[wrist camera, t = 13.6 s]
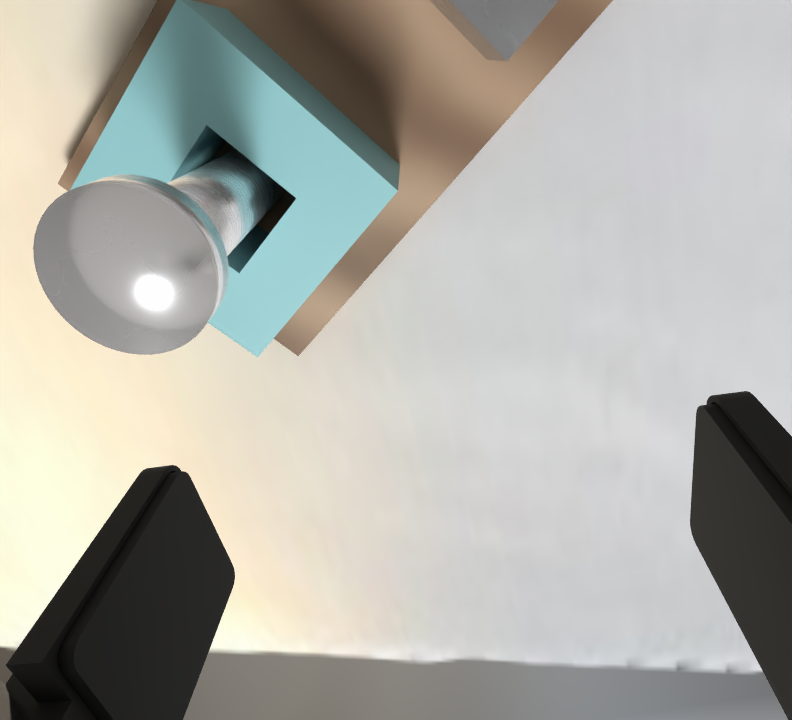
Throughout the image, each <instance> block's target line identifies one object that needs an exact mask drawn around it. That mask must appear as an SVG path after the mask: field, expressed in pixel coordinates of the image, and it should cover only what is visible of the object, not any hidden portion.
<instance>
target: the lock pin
mask: <svg viewBox="0 0 792 720" xmlns="http://www.w3.org/2000/svg"><path fill="white" fill-rule="evenodd" d="M285 191H286V189H284V188H283V187H282V186H281V185H279V184H278V183H277V182H276V181H275V180H273V179H272V178H271V177H270V176H268V175H267V174H266V173H265V172H264V171H262V170H261V169H260V168H259V167H257V166H256V165H255V164H254V163H253V162H251V161H250V160H249V159H248V158H246V157H245V156H244V155H243V154H242V153H240V152H239V151H238V150H237V149H235V150H233V151H231V152H229V153H227V154H225V155H223V156H221V157H219V158H217V159H215V160H213V161H211V162H209V163H207V164H205V165H203V166H201V167H199V168H197V169H195V170H193V171H191V172H189V173H187V174H185V175H183V176H181V177H179V178H177V179H175V180H173V181H171V182H169V183H165V182H162V181H160V180H157V179H154V178H150V177H146V176H141V175H133V174H120V175H113V176H108V177H105V178H101V179H98V180H95V181H93V182H90V183H87V184H85V185H82V186H79V187H77V188H74V189H72V190H70V191H68V192H66V193H64V194H63V195H61V196H60V197H59V198H57V199H56V200H55V201H54V202H53V203H52V204H51V205H50V206H49V207H48V208H47V210H46V211H45V212H44V214H43V215H42V217H41V219H40V221H39V224H38V226H37V230H36V233H35V238H34V247H33V248H34V262H35V267H36V271H37V275H38V278H39V281H40V283H41V285H42V288H43V290H44V292H45V294H46V295H47V297H48V299H49V300H50V302H51V303H52V305H53V306H54V307H55V309H56V310H57V311H58V312H59V314H60V315H61V316H62V317H63V318H64V319H65V320H66V321H67V322H68V323H69V324H70V325H72V326H73V327H74V328H75V329H76V330H78V331H79V332H80V333H82V334H83V335H85V336H86V337H88V338H90V339H91V340H93V341H95V342H97V343H99V344H101V345H103V346H106V347H108V348H111V349H114V350H117V351H121V352H126V353H132V354H158V353H164V352H167V351H171V350H174V349H176V348H179V347H181V346H183V345H184V344H186V343H188V342H189V341H191V340H192V339H193V338H194V337H196V336H197V335H198V334H199V332H200V331H201V330H202V329H203V328H204V327H205V325H206V324H207V323H208V321H209V320H210V319H211V317H212V316H213V315H214V313H215V312H216V311H217V309H218V308H219V306H220V305H221V303H222V301H223V298H224V296H225V293H226V290H227V286H228V279H229V264H228V258H227V256H228V255H229V254H230V253H231V252H232V250H233V249H234V248H235V247H236V246H237V245H238V244H239V243H240V242H241V241H242V240H243V238H244V237H245V236H246V235H247V234H248V233H249V232H250V231H251V230H252V229H253V228H254V227H255V225H256V224H257V223H258V222H259V221H260V220H261V219H262V218H263V217H264V216H265V215H266V213H267V212H268V211H269V210H270V209H271V208H272V207H273V206H274V205H275V204H276V203H277V201H278V200H279V199H280V198H281V197H282V196H283V195H284V193H285Z"/></svg>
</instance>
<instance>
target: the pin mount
mask: <svg viewBox="0 0 792 720" xmlns="http://www.w3.org/2000/svg"><path fill="white" fill-rule="evenodd" d="M430 1H431V2H432V3H433V4H434V6H435V7H436V8H437V9H438V10H439V11H440V12H441V13H442V14H443V15H444V16H445V17H446V18H447V19H448V20H449V21H450V22H451V23H452V24H453V25H454V26H455V27H456V28H457V29H458V30H459V32H460V33H461V34H462V35H463V36H464V37H465V38H466V39H467V40H468V41H469V42H470V43H471V44H472V45H473V46H474V47H475V48H476V49H477V50H478V51H479V52H480V53H481V54H482V55H483V57H484V58H485V59H486V60H495V61H508V60H509V59H510V58H511V57H512V55H513V54H514V53H515V52H516V51H517V49H518V48H519V47H520V46H521V45H522V44H523V42H524V41H525V40H526V39H527V38H528V36H529V35H530V34H531V33H532V32H533V31H534V29H535V28H536V27H537V26H538V25H539V23H540V22H541V21H542V20H543V19H544V17H545V16H546V15H547V14H548V13H549V12H550V10H551V9H552V8H553V7H554V6H555V4H556V3H557V2H558V1H559V0H430Z"/></svg>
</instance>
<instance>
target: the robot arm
mask: <svg viewBox="0 0 792 720" xmlns="http://www.w3.org/2000/svg"><path fill="white" fill-rule="evenodd" d="M690 526H691V531H692V535H693V538H694V541H695V543H696V545H697V547H698V549H699V551H700V553H701V555H702V557H703V558H704V560H705V562H706V564H707V566H708V568H709V570H710V572H711V574H712V575H713V577H714V579H715V581H716V583H717V585H718V587H719V589H720V591H721V593H722V594H723V596H724V598H725V600H726V602H727V604H728V606H729V608H730V610H731V612H732V613H733V615H734V617H735V619H736V621H737V623H738V625H739V627H740V629H741V630H742V632H743V634H744V636H745V638H746V640H747V642H748V644H749V646H750V648H751V649H752V651H753V653H754V655H755V657H756V659H757V661H758V663H759V665H760V667H761V668H762V670H763V672H764V674H765V676H766V678H767V680H768V682H769V684H770V685H771V687H772V689H773V691H774V693H775V695H776V697H777V699H778V701H779V703H780V704H781V706H782V708H783V710H784V712H785V714H786V716H787V718H788V720H792V436H791V435H790V434H789V433H788V432H787V431H786V430H785V429H784V428H783V427H782V426H781V424H780V423H779V422H778V421H777V420H776V419H775V418H774V417H773V416H772V415H771V414H770V413H769V411H768V410H767V409H766V408H765V407H764V406H763V405H762V404H761V403H760V402H759V401H758V400H757V398H756V397H755V396H754V395H753V394H751V393H750V392H747V391H744V392H736V393H728V394H721V395H713V396H710V397H709V398H708V400H707V405H703V406H699V407H698V409H697V413H696V428H695V446H694V463H693V480H692V498H691V515H690ZM234 580H235V572H234V567H233V565H232V563H231V560H230V558H229V556H228V554H227V552H226V550H225V548H224V546H223V544H222V542H221V540H220V538H219V536H218V534H217V531H216V529H215V527H214V525H213V523H212V521H211V519H210V517H209V515H208V513H207V511H206V509H205V507H204V505H203V502H202V500H201V498H200V496H199V494H198V492H197V490H196V488H195V486H194V484H193V482H192V480H191V478H190V476H189V474H188V473H186V472H183V471H181V470H180V468H178V467H177V466H174V465H170V466H163V467H155V468H147V469H145V470H143V471H142V472H141V473H140V474H139V476H138V477H137V478H136V480H135V481H134V483H133V484H132V486H131V487H130V488H129V490H128V491H127V493H126V494H125V496H124V497H123V498H122V500H121V501H120V503H119V504H118V506H117V507H116V508H115V510H114V511H113V513H112V514H111V516H110V517H109V518H108V520H107V521H106V523H105V524H104V526H103V527H102V528H101V530H100V531H99V533H98V534H97V536H96V537H95V538H94V540H93V541H92V543H91V544H90V546H89V547H88V548H87V550H86V551H85V553H84V554H83V556H82V557H81V558H80V560H79V561H78V563H77V564H76V566H75V567H74V569H73V570H72V571H71V573H70V574H69V576H68V577H67V579H66V580H65V581H64V583H63V584H62V586H61V587H60V589H59V590H58V591H57V593H56V594H55V596H54V597H53V599H52V600H51V601H50V603H49V604H48V606H47V607H46V609H45V610H44V611H43V613H42V614H41V616H40V617H39V619H38V620H37V621H36V623H35V624H34V626H33V627H32V629H31V630H30V631H29V633H28V634H27V636H26V637H25V639H24V640H23V641H22V643H21V644H20V646H19V647H18V649H17V650H16V651H15V653H14V654H13V656H12V657H11V659H10V660H9V662H8V663H7V664H6V666H7V667H8V668H9V670H10V671H11V672H12V673H13V674H12V676H11V677H10V679H9V680H8V682H7V683H6V685H5V684H3V683H1V682H0V720H183V718H184V715H185V712H186V710H187V707H188V705H189V702H190V699H191V697H192V694H193V691H194V689H195V686H196V683H197V681H198V678H199V675H200V673H201V670H202V667H203V665H204V662H205V659H206V657H207V654H208V652H209V649H210V646H211V644H212V641H213V638H214V636H215V633H216V631H217V628H218V625H219V623H220V620H221V617H222V615H223V612H224V609H225V607H226V604H227V601H228V599H229V596H230V593H231V591H232V588H233V585H234Z"/></svg>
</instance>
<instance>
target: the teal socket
mask: <svg viewBox="0 0 792 720" xmlns="http://www.w3.org/2000/svg"><path fill="white" fill-rule="evenodd" d="M226 141H227V142H228V143H229V144H231V145H232V146H233V147H234V148H235V149H237V150H238V151H239V152H240V153H242V154H243V155H244V156H245V157H246V158H248V159H249V160H250V161H251V162H253V163H254V164H255V165H256V166H257V167H259V168H260V169H261V170H262V171H264V172H265V173H266V174H267V175H268V176H270V177H271V178H272V179H273V180H275V181H276V182H277V183H278V184H279V185H281V186H282V187H283V188H284V189H286V190H287V191H288V192H289V193H290V194H292V195H293V196H294V197H295V198H296V200H295V201H294V202H293V203H292V205H291V206H290V207H289V209H288V210H287V211H286V213H285V214H284V215H283V217H282V218H281V219H280V221H279V222H278V223H277V225H276V226H275V227H274V228H273V230H272V231H271V232H270V234H269V233H267V232H266V231H265V230H264V229H262V228H261V227H260V226H258V225H257V224H256V225H255V227H254V228H253V229H252V230H251V231H250V232H249V233H248V234H247V235H246V236H245V237H244V238H243V240H242V241H241V242H240V243H239V244H238V245H237V246H236V247H235V248H234V249H233V250H232V252H231V253H230V254H229V255H228V256H227V258H228V264H229V279H228V286H227V290H226V293H225V296H224V298H223V301H222V303H221V305H220V306H219V308H218V309H217V311H216V312H215V313H214V315H213V316H212V317H211V319H210V320H209V321H208V323H209V324H211V325H212V326H214V327H215V328H217V329H218V330H219V331H221V332H222V333H224V334H225V335H227V336H228V337H229V338H231V339H232V340H234V341H235V342H237V343H238V344H239V345H241V346H242V347H244V348H245V349H247V350H248V351H250V352H251V353H252V354H254V355H255V356H257V357H258V356H259V355H260V354H261V353H262V352H263V350H264V349H265V348H266V347H267V346H268V344H269V343H270V342H271V341H272V340H273V338H274V337H275V336H276V335H277V334H278V333H279V331H280V330H281V329H282V328H283V327H284V325H285V324H286V323H287V322H288V321H289V320H290V318H291V317H292V316H293V315H294V314H295V312H296V311H297V310H298V309H299V308H300V307H301V305H302V304H303V303H304V302H305V301H306V299H307V298H308V297H309V296H310V295H311V293H312V292H313V291H314V290H315V289H316V288H317V286H318V285H319V284H320V283H321V282H322V280H323V279H324V278H325V277H326V276H327V275H328V273H329V272H330V271H331V270H332V269H333V267H334V266H335V265H336V264H337V263H338V261H339V260H340V259H341V258H342V257H343V256H344V254H345V253H346V252H347V251H348V250H349V248H350V247H351V246H352V245H353V244H354V243H355V241H356V240H357V239H358V238H359V237H360V235H361V234H362V233H363V232H364V231H365V230H366V228H367V227H368V226H369V225H370V224H371V222H372V221H373V220H374V219H375V218H376V216H377V215H378V214H379V213H380V212H381V211H382V209H383V208H384V207H385V206H386V205H387V203H388V202H389V201H390V200H391V199H392V198H393V196H394V195H395V194H396V193H397V192H398V185H399V172H400V164H399V163H397V162H396V161H395V160H394V159H393V158H392V157H391V156H390V155H389V154H387V153H386V152H385V151H384V150H383V149H382V148H381V147H380V146H379V145H377V144H376V143H375V142H374V141H373V140H372V139H371V138H370V137H369V136H368V135H366V134H365V133H364V132H363V131H362V130H361V129H360V128H359V127H358V126H356V125H355V124H354V123H353V122H352V121H351V120H350V119H349V118H348V117H346V116H345V115H344V114H343V113H342V112H341V111H340V110H339V109H338V108H336V107H335V106H334V105H333V104H332V103H331V102H330V101H329V100H328V99H327V98H325V97H324V96H323V95H322V94H321V93H320V92H319V91H318V90H317V89H315V88H314V87H313V86H312V85H311V84H310V83H309V82H308V81H307V80H305V79H304V78H303V77H302V76H301V75H300V74H299V73H298V72H297V71H296V70H294V69H293V68H292V67H291V66H290V65H289V64H288V63H287V62H286V61H284V60H283V59H282V58H281V57H280V56H279V55H278V54H277V53H276V52H274V51H273V50H272V49H271V48H270V47H269V46H268V45H267V44H266V43H264V42H263V41H262V40H261V39H260V38H259V37H258V36H257V35H256V34H255V33H253V32H252V31H251V30H250V29H249V28H248V27H247V26H246V25H245V24H243V23H242V22H241V21H240V20H239V19H238V18H237V17H236V16H235V15H233V14H232V13H231V12H230V11H229V10H228V9H225V8H221V7H217V6H213V5H209V4H205V3H201V2H197V1H193V0H176V2H175V4H174V6H173V7H172V9H171V11H170V13H169V14H168V16H167V18H166V20H165V22H164V23H163V25H162V27H161V29H160V31H159V32H158V34H157V36H156V38H155V39H154V41H153V43H152V45H151V47H150V48H149V50H148V52H147V54H146V56H145V57H144V59H143V61H142V63H141V64H140V66H139V68H138V70H137V72H136V73H135V75H134V77H133V79H132V80H131V82H130V84H129V86H128V88H127V89H126V91H125V93H124V95H123V97H122V98H121V100H120V102H119V104H118V105H117V107H116V109H115V111H114V113H113V114H112V116H111V118H110V120H109V121H108V123H107V125H106V127H105V129H104V130H103V132H102V134H101V136H100V138H99V139H98V141H97V143H96V145H95V146H94V148H93V150H92V152H91V154H90V155H89V157H88V159H87V161H86V163H85V164H84V166H83V168H82V170H81V171H80V173H79V175H78V177H77V179H76V180H75V182H74V184H73V186H72V187H71V189H70V190H72V189H74V188H77V187H79V186H82V185H85V184H87V183H90V182H93V181H95V180H98V179H101V178H105V177H108V176H113V175H120V174H133V175H141V176H146V177H150V178H154V179H157V180H160V181H162V182H165V183H169V182H171V181H173V180H175V179H177V178H179V177H181V176H183V175H185V174H187V173H189V172H191V171H193V170H195V169H197V168H199V167H201V166H203V165H205V164H207V163H209V162H211V161H213V160H214V159H215V157H216V156H217V154H218V153H219V151H220V150H221V148H222V147H223V145H224V144H225V142H226Z"/></svg>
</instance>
